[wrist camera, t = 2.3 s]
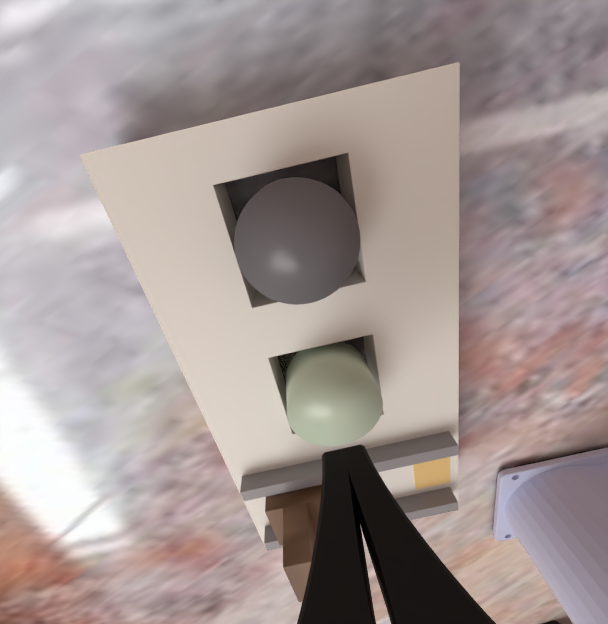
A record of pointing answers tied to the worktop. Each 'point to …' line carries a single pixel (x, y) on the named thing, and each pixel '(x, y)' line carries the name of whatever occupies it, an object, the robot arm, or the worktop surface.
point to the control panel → (321, 314)
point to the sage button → (331, 395)
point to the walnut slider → (295, 531)
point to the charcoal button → (297, 240)
